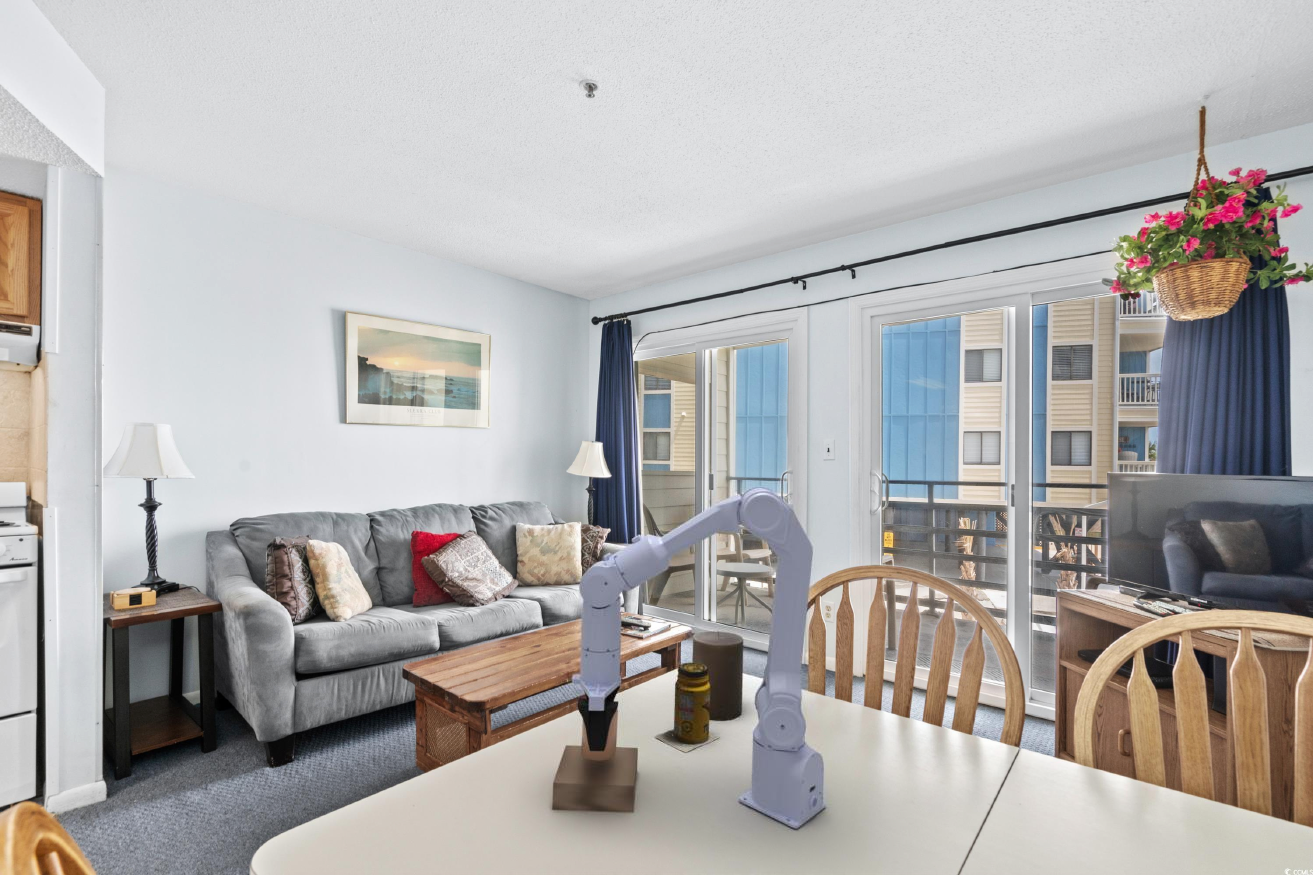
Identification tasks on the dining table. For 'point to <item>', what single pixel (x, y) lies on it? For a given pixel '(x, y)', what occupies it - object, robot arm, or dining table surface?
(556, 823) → the dining table surface
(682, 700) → the condiment
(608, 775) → the walnut block
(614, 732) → the terracotta cylinder
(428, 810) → the dining table surface
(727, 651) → the pillar candle
